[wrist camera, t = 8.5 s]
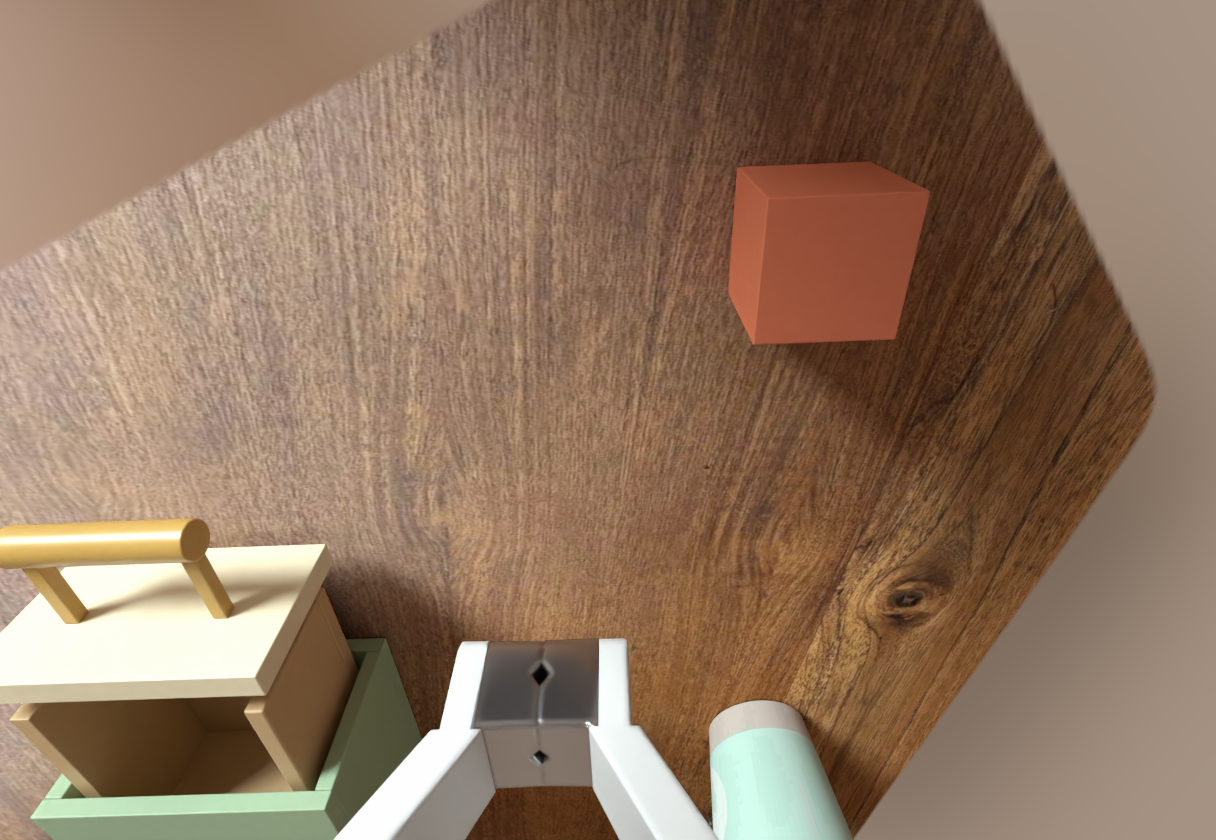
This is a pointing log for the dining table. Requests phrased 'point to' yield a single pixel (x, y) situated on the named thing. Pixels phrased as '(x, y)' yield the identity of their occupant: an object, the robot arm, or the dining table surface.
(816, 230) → the block
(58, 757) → the drawer
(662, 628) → the dining table surface
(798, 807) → the coffee cup
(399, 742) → the cabinet
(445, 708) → the robot arm
